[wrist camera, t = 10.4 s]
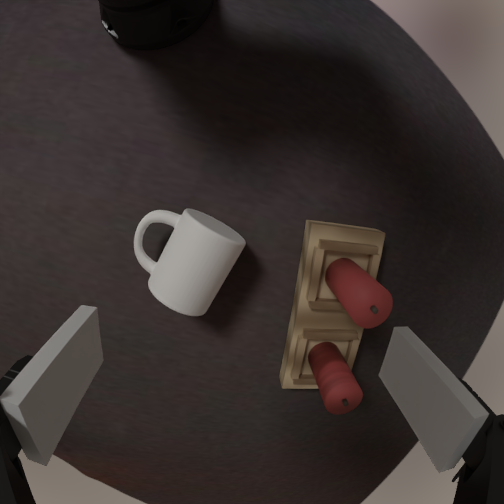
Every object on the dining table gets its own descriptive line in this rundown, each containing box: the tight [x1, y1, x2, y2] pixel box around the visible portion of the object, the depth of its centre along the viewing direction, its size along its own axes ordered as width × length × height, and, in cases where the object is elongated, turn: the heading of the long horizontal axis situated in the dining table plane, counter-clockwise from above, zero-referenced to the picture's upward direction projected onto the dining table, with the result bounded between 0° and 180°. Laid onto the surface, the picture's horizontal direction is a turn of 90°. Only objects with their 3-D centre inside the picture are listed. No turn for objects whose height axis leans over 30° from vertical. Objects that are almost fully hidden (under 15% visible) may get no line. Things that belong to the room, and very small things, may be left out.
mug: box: [134, 209, 246, 316], centre depth 37 cm, size 12×10×8 cm
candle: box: [325, 258, 393, 328], centre depth 35 cm, size 5×5×11 cm
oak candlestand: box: [279, 220, 385, 414], centre depth 37 cm, size 24×10×14 cm, turn 173°
